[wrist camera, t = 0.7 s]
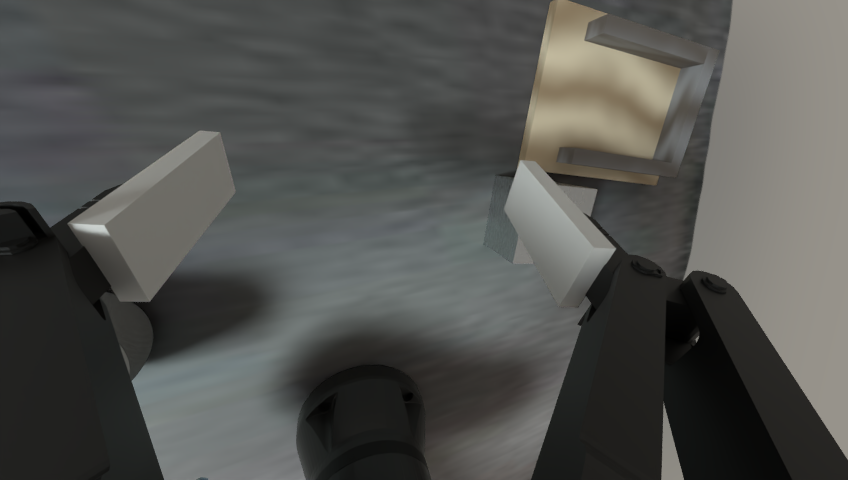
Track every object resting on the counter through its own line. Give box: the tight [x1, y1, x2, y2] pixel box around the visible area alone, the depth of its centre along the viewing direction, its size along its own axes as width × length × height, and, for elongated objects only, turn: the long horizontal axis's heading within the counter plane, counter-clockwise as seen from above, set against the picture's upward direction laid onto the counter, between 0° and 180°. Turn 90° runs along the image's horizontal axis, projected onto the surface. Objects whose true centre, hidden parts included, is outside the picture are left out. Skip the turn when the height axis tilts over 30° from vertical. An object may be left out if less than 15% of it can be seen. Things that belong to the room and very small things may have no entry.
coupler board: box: [517, 0, 719, 185], centre depth 34 cm, size 16×20×4 cm
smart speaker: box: [100, 292, 153, 381], centre depth 21 cm, size 10×9×14 cm
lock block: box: [483, 175, 598, 264], centre depth 33 cm, size 8×8×7 cm
